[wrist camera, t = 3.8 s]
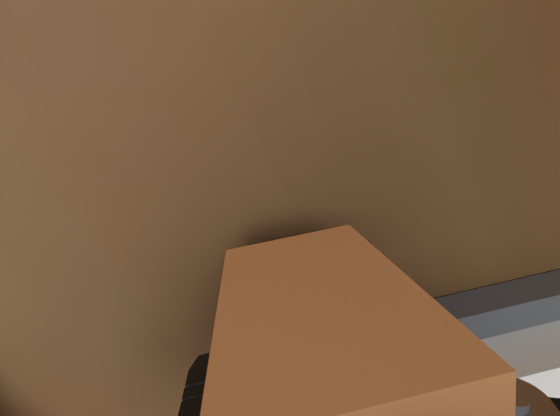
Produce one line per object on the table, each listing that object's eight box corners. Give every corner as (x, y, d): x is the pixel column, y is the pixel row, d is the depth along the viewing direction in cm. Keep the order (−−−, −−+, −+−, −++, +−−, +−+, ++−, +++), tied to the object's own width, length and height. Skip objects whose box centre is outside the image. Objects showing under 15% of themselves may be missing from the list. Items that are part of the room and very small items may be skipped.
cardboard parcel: (340, 217, 12) (515, 371, 4) (357, 340, 13) (511, 624, 6) (227, 240, 12) (194, 450, 4) (256, 363, 13) (274, 696, 5)
